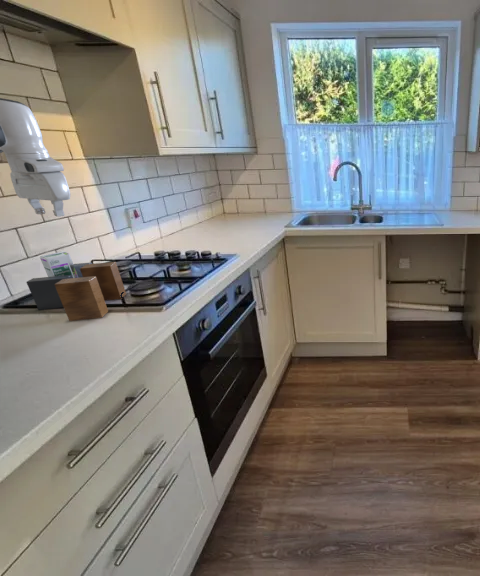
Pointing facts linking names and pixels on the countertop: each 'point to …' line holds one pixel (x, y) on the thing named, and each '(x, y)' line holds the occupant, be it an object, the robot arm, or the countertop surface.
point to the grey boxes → (49, 289)
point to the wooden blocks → (90, 291)
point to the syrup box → (58, 264)
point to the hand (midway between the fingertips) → (50, 215)
